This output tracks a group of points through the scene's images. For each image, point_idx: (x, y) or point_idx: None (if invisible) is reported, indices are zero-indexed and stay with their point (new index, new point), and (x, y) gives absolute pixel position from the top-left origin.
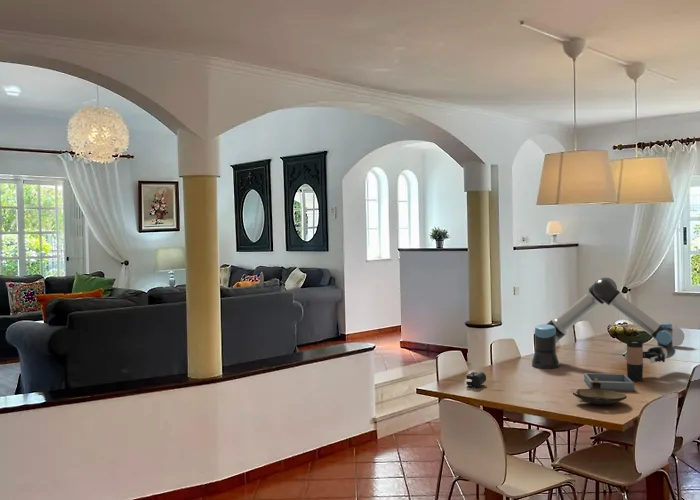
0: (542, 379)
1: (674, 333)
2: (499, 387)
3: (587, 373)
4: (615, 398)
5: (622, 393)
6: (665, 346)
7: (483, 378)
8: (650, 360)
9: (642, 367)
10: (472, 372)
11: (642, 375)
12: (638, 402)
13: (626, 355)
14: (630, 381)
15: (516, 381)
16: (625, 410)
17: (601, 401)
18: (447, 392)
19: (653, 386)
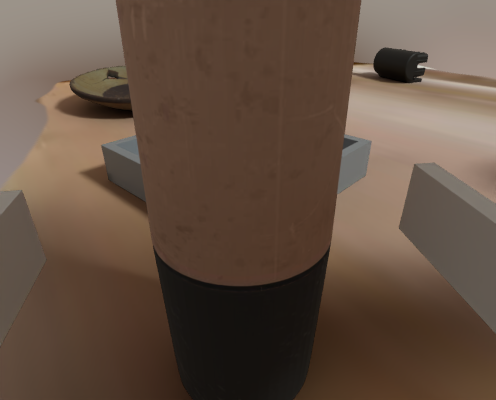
0: (435, 131)
1: None
2: (370, 86)
3: (360, 143)
4: (85, 73)
5: (91, 94)
6: None
7: (392, 62)
8: (34, 226)
9: (158, 272)
10: (423, 53)
11: (174, 349)
12: (55, 131)
13: (414, 179)
14: (127, 151)
15: (423, 105)
16: (69, 103)
17: (113, 76)
18: (365, 65)
19: (40, 289)
